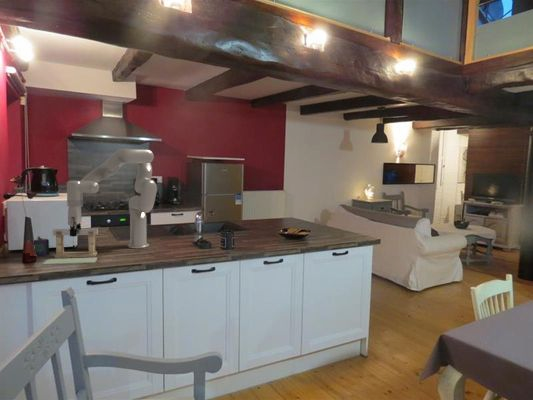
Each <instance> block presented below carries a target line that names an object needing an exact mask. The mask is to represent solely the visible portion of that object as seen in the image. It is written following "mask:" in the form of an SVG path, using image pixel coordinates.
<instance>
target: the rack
mask: <svg viewBox="0 0 533 400" xmlns="http://www.w3.org/2000/svg"><path fill="white" fill-rule="evenodd" d="M64 236H65V235H61V232H56V236H55V248H56V249H55V251H56V253H55V255H54V259H66V258H71V257H72V258H96V256H97V255H98V251H96V235H93V231H89V232H88V235H87V236H88V237H87V238H88V251H68V252H67V251H65V242H64V241H65V240H64V238H65V237H64Z"/></svg>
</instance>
